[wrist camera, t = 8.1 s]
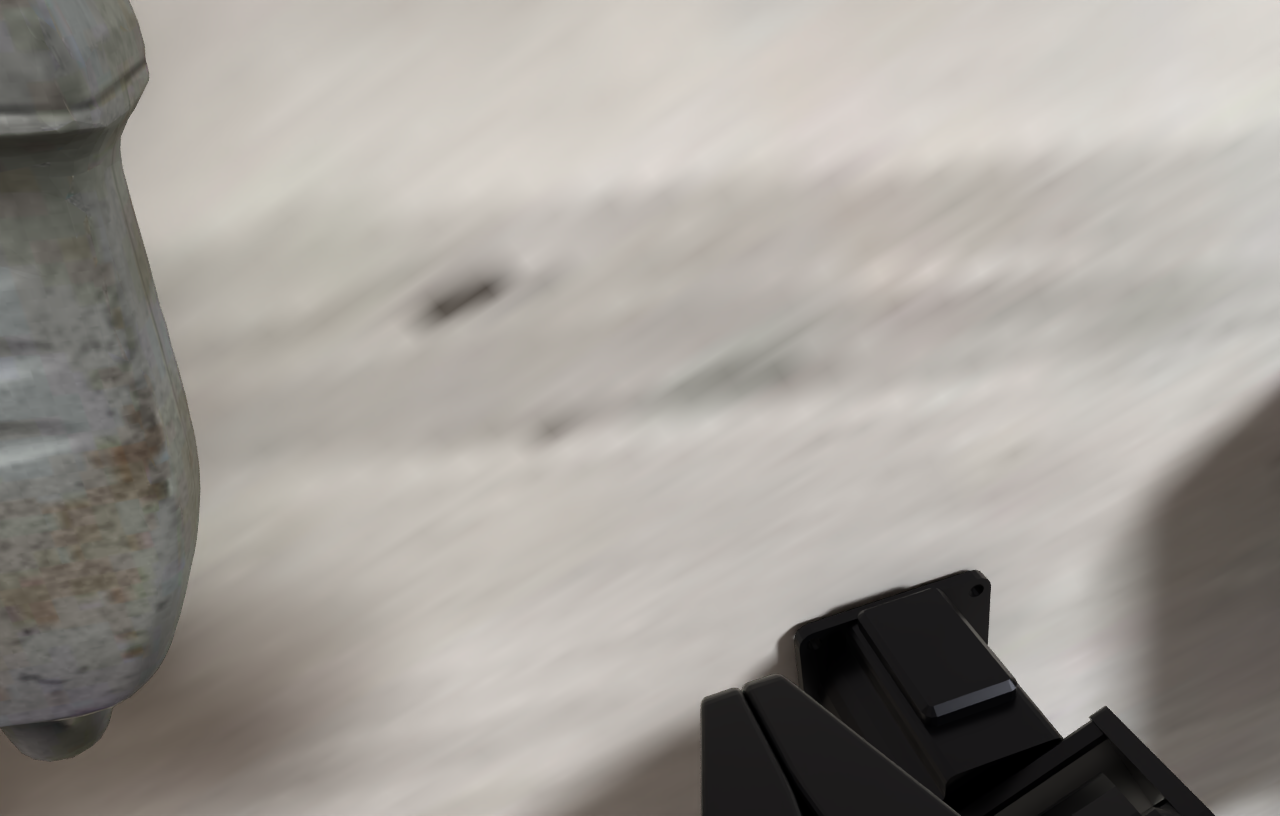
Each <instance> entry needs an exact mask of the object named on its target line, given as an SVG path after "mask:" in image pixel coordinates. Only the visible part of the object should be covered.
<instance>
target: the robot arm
mask: <svg viewBox="0 0 1280 816" xmlns="http://www.w3.org/2000/svg"><path fill="white" fill-rule="evenodd" d="M990 594H991V584H990V581H989V580H988V579H987V578H986V577H985V576H984V575H983V574H982V573H981V572H980V571H977V570H972V571H968V572H965V573H962V574H959V575H956V576H953V577H950V578H947V579H944V580H941V581H938V582H935V583H931V584H928V585H925V586H922V587H919V588H916V589H913V590H910V591H907V592H904V593H901V594H898V595H895V596H892V597H889V598H886V599H883V600H880V601H877V602H873V603H870V604H867V605H864V606H861V607H858V608H855V609H852V610H849V611H846V612H843V613H840V614H837V615H834V616H831V617H828V618H825V619H822V620H819V621H815V622H812V623H809V624H807V625H805V626H803V627H801V628H800V629H799V630H798V631H797V633H796V634H795V638H794V644H795V653H796V662H797V671H798V680H799V687H797V686H796V685H795V684H794V683H792V682H791V681H790V680H789V679H787V678H786V677H784V676H782V675H780V674H772V675H769V676H766V677H763V678H760V679H757V680H754V681H751V682H748V683H746V684H745V685H744V686H743V687H742V691H741V690H740V689H738V688H731V689H728V690H725V691H722V692H719V693H716V694H713V695H710V696H707V697H705V698H704V699H703V700H702V702H701V816H1215V815H1214V814H1213V813H1212V812H1211V811H1210V810H1209V809H1208V808H1207V807H1206V806H1205V805H1204V804H1203V803H1202V802H1201V801H1200V800H1199V799H1198V798H1197V797H1196V796H1195V795H1194V794H1193V793H1192V792H1191V791H1190V790H1189V789H1188V788H1187V787H1186V786H1185V785H1184V784H1183V783H1182V782H1181V781H1180V780H1179V779H1178V778H1177V777H1176V776H1175V775H1174V774H1173V773H1172V772H1171V771H1170V770H1169V769H1168V768H1167V767H1166V766H1165V765H1164V764H1163V763H1162V762H1161V761H1160V760H1159V759H1158V758H1157V757H1156V756H1155V755H1154V754H1153V753H1152V752H1151V751H1150V750H1149V749H1148V748H1147V747H1146V746H1145V745H1144V744H1143V743H1142V742H1141V741H1140V740H1139V738H1138V737H1137V736H1136V735H1135V734H1134V733H1133V732H1132V731H1131V730H1130V729H1129V728H1128V727H1127V726H1126V725H1125V724H1124V723H1123V722H1122V721H1121V720H1120V719H1119V718H1118V717H1117V716H1116V715H1115V714H1114V713H1113V712H1112V711H1111V710H1110V709H1109V708H1108V707H1107V706H1104V707H1103V708H1101V709H1100V710H1098V711H1097V712H1095V713H1094V714H1093V715H1091V716H1090V717H1089V718H1090V720H1091V721H1089V722H1088V723H1086V724H1085V725H1083V726H1082V727H1080V728H1079V729H1077V730H1076V731H1074V732H1073V733H1071V734H1070V735H1069V736H1067V737H1066V738H1064V739H1063V737H1062V736H1061V735H1060V734H1059V733H1058V731H1057V730H1056V729H1055V728H1054V727H1053V725H1052V724H1051V723H1050V722H1049V721H1048V719H1047V718H1046V717H1045V716H1044V715H1043V713H1042V712H1041V711H1040V710H1039V708H1038V707H1037V706H1036V705H1035V704H1034V702H1033V701H1032V700H1031V699H1030V698H1029V696H1028V695H1027V694H1026V693H1025V692H1024V690H1023V689H1022V688H1021V687H1020V686H1019V684H1018V683H1017V681H1016V679H1015V678H1014V677H1013V675H1012V674H1011V673H1010V672H1009V671H1008V669H1007V668H1006V667H1005V666H1004V665H1003V663H1002V662H1001V661H1000V660H999V659H998V657H997V656H996V655H995V654H994V653H993V651H992V650H991V649H990V648H989V647H988V630H989V612H990ZM812 639H813V640H812ZM810 640H811V641H810Z"/></svg>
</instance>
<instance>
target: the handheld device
mask: <svg viewBox="0 0 1280 816" xmlns="http://www.w3.org/2000/svg"><path fill="white" fill-rule="evenodd" d="M148 81H149V71H148V67H147V63H146V59H145V46H144V42H143V38H142V34H141V31H140V27H139V24H138V21H137V18H136V16H135V13H134V11H133V9H132V6H131V4H130V2H129V0H0V728H1V729H2V731H3V732H4V733H5V735H6V736H7V737H8V738H9V739H10V740H11V742H12V743H13V744H14V745H15V746H16V747H17V748H18V749H19V751H20V752H21V753H23V754H25V755H27V756H29V757H31V758H33V759H36V760H43V761H50V762H51V761H56V760H62V759H68V758H73V757H75V756H76V755H78V754H80V753H81V752H83V751H85V750H86V749H88V748H90V747H91V746H92V745H94V744H95V743H96V742H97V741H98V740H99V739H100V738H101V737H102V735H103V733H104V732H105V730H106V728H107V726H108V724H109V721H110V717H111V713H112V709H113V706H115V705H117V704H119V703H120V702H122V701H124V700H126V699H127V698H129V697H130V696H132V695H133V694H134V693H135V692H136V691H137V690H138V689H140V688H141V687H142V686H143V685H144V684H145V683H146V682H147V681H148V680H149V679H150V678H151V677H152V675H153V674H154V673H155V672H156V671H157V670H158V668H159V666H160V665H161V663H162V661H163V660H164V658H165V656H166V654H167V652H168V649H169V647H170V645H171V642H172V639H173V636H174V632H175V629H176V626H177V623H178V620H179V617H180V613H181V609H182V605H183V601H184V597H185V593H186V589H187V584H188V579H189V574H190V569H191V565H192V560H193V556H194V551H195V546H196V540H197V531H198V521H199V505H200V473H199V461H198V454H197V446H196V440H195V435H194V430H193V426H192V422H191V418H190V414H189V409H188V404H187V399H186V395H185V391H184V388H183V384H182V380H181V376H180V373H179V369H178V365H177V362H176V359H175V355H174V352H173V349H172V346H171V342H170V338H169V333H168V329H167V325H166V322H165V319H164V316H163V313H162V310H161V307H160V303H159V300H158V296H157V292H156V288H155V284H154V280H153V277H152V273H151V269H150V265H149V261H148V258H147V254H146V251H145V247H144V244H143V240H142V237H141V233H140V230H139V226H138V223H137V219H136V216H135V212H134V209H133V205H132V202H131V198H130V194H129V190H128V186H127V183H126V179H125V175H124V171H123V167H122V160H121V152H120V142H121V135H122V132H123V130H124V128H125V125H126V123H127V120H128V118H129V117H130V115H131V114H132V112H133V111H134V109H135V107H136V105H137V103H138V101H139V99H140V97H141V95H142V93H143V91H144V89H145V87H146V85H147V83H148Z"/></svg>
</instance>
